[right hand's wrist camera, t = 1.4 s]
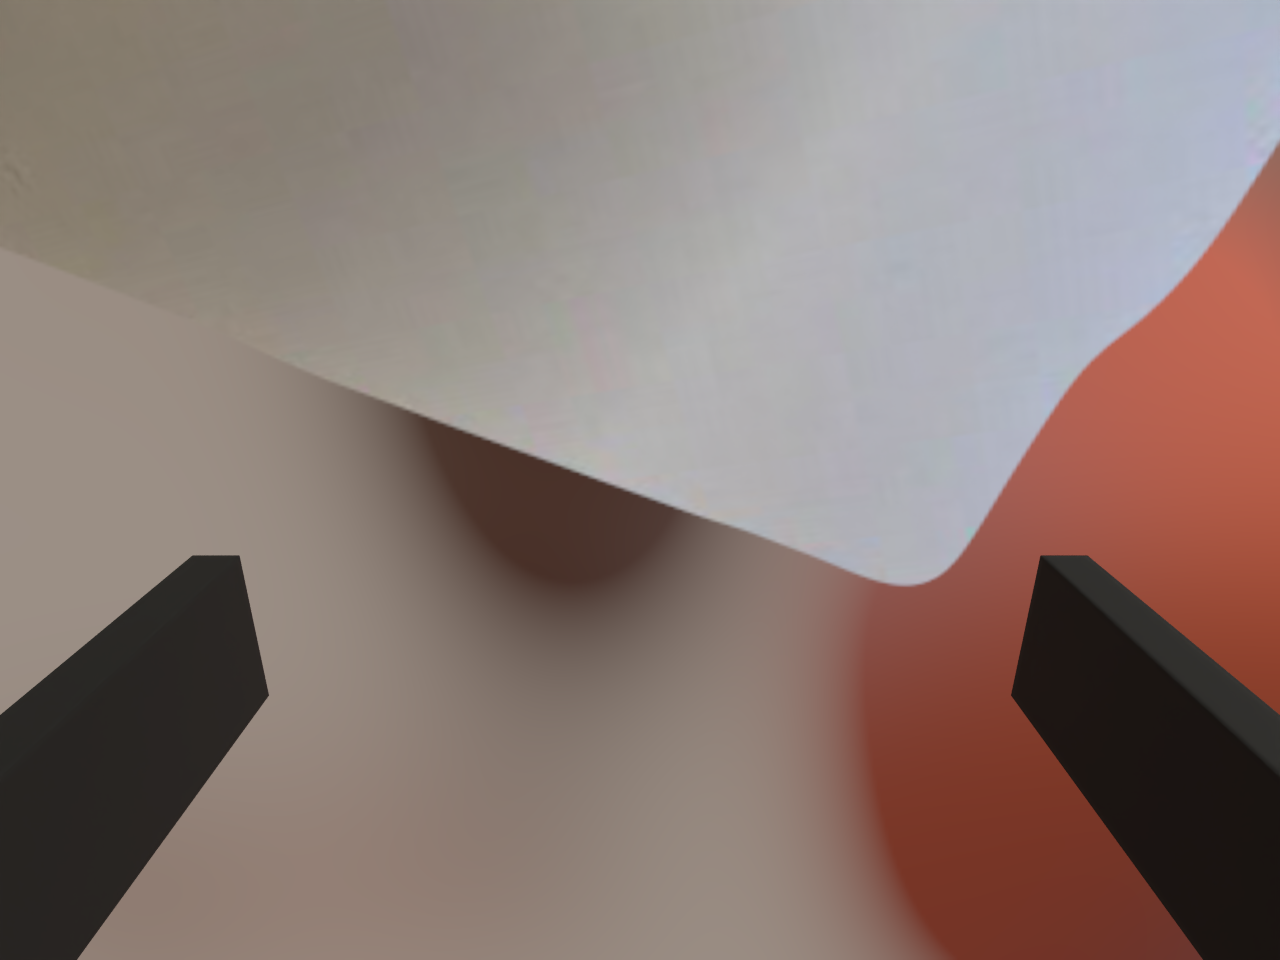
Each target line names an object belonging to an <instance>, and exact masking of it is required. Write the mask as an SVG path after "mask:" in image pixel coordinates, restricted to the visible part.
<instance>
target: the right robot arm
mask: <svg viewBox="0 0 1280 960" xmlns="http://www.w3.org/2000/svg"><path fill="white" fill-rule="evenodd" d="M268 696H269V694H268V689H267V684H266V680H265V675H264V670H263V665H262V660H261V656H260V651H259V646H258V641H257V637H256V632H255V627H254V623H253V618H252V613H251V608H250V603H249V599H248V594H247V589H246V585H245V580H244V575H243V570H242V566H241V561H240V556H191V557H190V558H189V559H188V560H187V561H185V562H184V563H183V564H182V565H181V566H179V567H178V568H177V569H176V570H175V571H173V572H172V573H171V574H170V575H169V576H167V577H166V578H165V579H164V580H163V581H161V582H160V583H159V584H158V585H157V586H155V587H154V588H153V589H152V590H151V591H149V592H148V593H147V594H146V595H144V596H143V597H142V598H141V599H140V600H138V601H137V602H136V603H135V604H134V605H132V606H131V607H130V608H129V609H128V610H126V611H125V612H124V613H123V614H122V615H120V616H119V617H118V618H117V619H116V620H114V621H113V622H112V623H111V624H110V625H108V626H107V627H106V628H105V629H104V630H102V631H101V632H100V633H99V634H98V635H96V636H95V637H94V638H93V639H91V640H90V641H89V642H88V643H87V644H85V645H84V646H83V647H82V648H81V649H79V650H78V651H77V652H76V653H74V654H73V655H72V656H71V657H70V658H69V659H67V660H66V661H65V662H64V663H62V664H61V665H60V666H59V667H58V668H56V669H55V670H54V671H53V672H52V673H50V674H49V675H48V676H47V677H46V678H44V679H43V680H42V681H41V682H40V683H38V684H37V685H36V686H35V687H33V688H32V689H31V690H30V691H29V692H27V693H26V694H25V695H24V696H23V697H21V698H20V699H19V700H18V701H17V702H15V703H14V704H13V705H12V706H11V707H9V708H8V709H7V710H6V711H5V712H3V713H2V714H1V715H0V960H77V959H78V957H79V956H80V955H81V953H82V952H83V951H84V949H85V948H86V946H87V945H88V944H89V942H90V941H91V939H92V938H93V937H94V935H95V934H96V933H97V931H98V930H99V929H100V927H101V926H102V924H103V923H104V922H105V920H106V919H107V917H108V916H109V915H110V913H111V912H112V911H113V909H114V908H115V906H116V905H117V904H118V902H119V901H120V900H121V898H122V897H123V895H124V894H125V893H126V891H127V890H128V889H129V887H130V886H131V884H132V883H133V882H134V880H135V879H136V878H137V876H138V875H139V873H140V872H141V871H142V869H143V868H144V867H145V865H146V864H147V862H148V861H149V860H150V858H151V857H152V856H153V854H154V853H155V851H156V850H157V849H158V847H159V846H160V845H161V843H162V842H163V840H164V839H165V838H166V836H167V835H168V834H169V832H170V831H171V829H172V828H173V827H174V825H175V824H176V822H177V821H178V820H179V818H180V817H181V816H182V814H183V813H184V812H185V810H186V809H187V807H188V806H189V805H190V803H191V802H192V801H193V799H194V798H195V796H196V795H197V794H198V792H199V791H200V789H201V788H202V787H203V785H204V784H205V783H206V781H207V780H208V778H209V777H210V776H211V774H212V773H213V772H214V770H215V769H216V767H217V766H218V765H219V763H220V762H221V761H222V759H223V758H224V756H225V755H226V754H227V752H228V751H229V750H230V748H231V747H232V745H233V744H234V743H235V741H236V740H237V739H238V737H239V736H240V734H241V733H242V732H243V730H244V729H245V728H246V726H247V725H248V723H249V722H250V721H251V719H252V718H253V716H254V715H255V714H256V712H257V711H258V710H259V708H260V707H261V706H262V704H263V703H264V701H265V700H266V699H267V697H268ZM1011 696H1012V697H1013V699H1014V700H1015V701H1016V703H1017V704H1018V706H1019V707H1020V708H1021V710H1022V711H1023V712H1024V714H1025V715H1026V717H1027V718H1028V719H1029V721H1030V722H1031V723H1032V725H1033V726H1034V728H1035V729H1036V730H1037V732H1038V733H1039V734H1040V736H1041V737H1042V738H1043V740H1044V741H1045V743H1046V744H1047V745H1048V747H1049V748H1050V750H1051V751H1052V752H1053V754H1054V755H1055V756H1056V758H1057V759H1058V761H1059V762H1060V763H1061V765H1062V766H1063V767H1064V769H1065V770H1066V772H1067V773H1068V774H1069V776H1070V777H1071V778H1072V780H1073V781H1074V783H1075V784H1076V785H1077V787H1078V788H1079V790H1080V791H1081V792H1082V794H1083V795H1084V796H1085V798H1086V799H1087V800H1088V802H1089V803H1090V805H1091V806H1092V807H1093V809H1094V810H1095V812H1096V813H1097V814H1098V816H1099V817H1100V818H1101V820H1102V821H1103V823H1104V824H1105V825H1106V827H1107V828H1108V829H1109V831H1110V832H1111V834H1112V835H1113V836H1114V838H1115V839H1116V840H1117V842H1118V843H1119V845H1120V846H1121V847H1122V849H1123V850H1124V851H1125V853H1126V854H1127V856H1128V857H1129V858H1130V860H1131V861H1132V862H1133V864H1134V865H1135V867H1136V868H1137V869H1138V871H1139V872H1140V873H1141V875H1142V876H1143V878H1144V879H1145V880H1146V882H1147V883H1148V884H1149V886H1150V887H1151V889H1152V890H1153V891H1154V893H1155V894H1156V895H1157V897H1158V898H1159V900H1160V901H1161V902H1162V904H1163V905H1164V906H1165V908H1166V909H1167V911H1168V912H1169V913H1170V915H1171V916H1172V917H1173V919H1174V920H1175V922H1176V923H1177V924H1178V926H1179V927H1180V929H1181V930H1182V931H1183V933H1184V934H1185V935H1186V937H1187V938H1188V940H1189V941H1190V942H1191V944H1192V945H1193V946H1194V948H1195V949H1196V950H1197V952H1198V953H1199V955H1200V956H1201V957H1202V959H1203V960H1280V715H1279V714H1278V713H1277V712H1275V711H1274V710H1273V709H1272V708H1271V707H1269V706H1268V705H1267V704H1266V703H1265V702H1263V701H1262V700H1261V699H1260V698H1259V697H1257V696H1256V695H1255V694H1254V693H1253V692H1251V691H1250V690H1249V689H1248V688H1247V687H1245V686H1244V685H1243V684H1242V683H1240V682H1239V681H1238V680H1237V679H1236V678H1234V677H1233V676H1232V675H1231V674H1230V673H1228V672H1227V671H1226V670H1225V669H1224V668H1222V667H1221V666H1220V665H1219V664H1217V663H1216V662H1215V661H1214V660H1213V659H1212V658H1210V657H1209V656H1208V655H1207V654H1205V653H1204V652H1203V651H1202V650H1201V649H1199V648H1198V647H1197V646H1196V645H1195V644H1193V643H1192V642H1191V641H1190V640H1189V639H1187V638H1186V637H1185V636H1184V635H1183V634H1181V633H1180V632H1179V631H1178V630H1177V629H1175V628H1174V627H1173V626H1172V625H1171V624H1169V623H1168V622H1167V621H1166V620H1164V619H1163V618H1162V617H1161V616H1160V615H1158V614H1157V613H1156V612H1155V611H1154V610H1152V609H1151V608H1150V607H1149V606H1148V605H1146V604H1145V603H1144V602H1143V601H1142V600H1140V599H1139V598H1138V597H1137V596H1136V595H1134V594H1133V593H1132V592H1131V591H1130V590H1128V589H1127V588H1126V587H1125V586H1123V585H1122V584H1121V583H1120V582H1119V581H1117V580H1116V579H1115V578H1114V577H1113V576H1111V575H1110V574H1109V573H1108V572H1107V571H1105V570H1104V569H1103V568H1102V567H1101V566H1099V565H1098V564H1097V563H1096V562H1094V561H1093V560H1092V559H1091V558H1090V557H1089V556H1040V561H1039V566H1038V570H1037V575H1036V580H1035V585H1034V589H1033V594H1032V599H1031V604H1030V608H1029V613H1028V618H1027V623H1026V627H1025V632H1024V637H1023V642H1022V646H1021V651H1020V656H1019V660H1018V665H1017V670H1016V675H1015V679H1014V684H1013V689H1012V694H1011Z"/></svg>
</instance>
